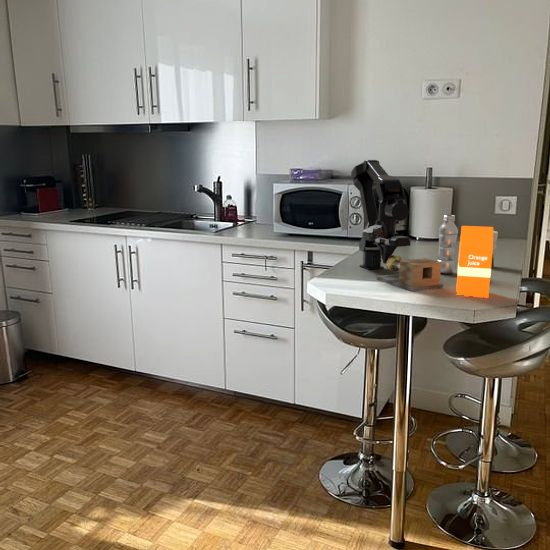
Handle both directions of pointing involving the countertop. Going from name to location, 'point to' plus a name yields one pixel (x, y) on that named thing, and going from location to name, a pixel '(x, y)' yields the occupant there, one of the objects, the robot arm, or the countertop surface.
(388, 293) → the countertop surface
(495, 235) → the character mug
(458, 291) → the orange juice
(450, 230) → the plastic bottle
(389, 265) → the shaft
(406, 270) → the bearing block
